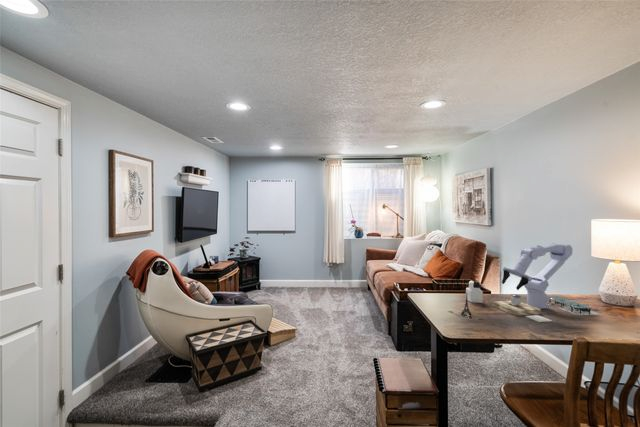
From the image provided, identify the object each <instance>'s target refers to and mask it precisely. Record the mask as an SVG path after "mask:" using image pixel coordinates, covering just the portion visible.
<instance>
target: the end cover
mask: <svg viewBox="0 0 640 427" xmlns="http://www.w3.org/2000/svg"><path fill="white" fill-rule="evenodd" d="M510 301H511V306H514V307H520V302H521V295H519V294H511V295H510Z"/></svg>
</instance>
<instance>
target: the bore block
mask: <svg viewBox="0 0 640 427" xmlns="http://www.w3.org/2000/svg"><path fill="white" fill-rule="evenodd" d="M491 306H492V307H494V308H496V309H498V310H501V311H504V312H506V313H508V314H510V315H513V316H530V315H541V309H538V308H535V307H533V306H530V305H527V303H524V302H521V301H520V307H514V306H511V300H500V301H496V300H495V301H492V302H491Z"/></svg>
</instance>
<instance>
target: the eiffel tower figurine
mask: <svg viewBox="0 0 640 427" xmlns="http://www.w3.org/2000/svg"><path fill="white" fill-rule="evenodd" d="M468 302H469V301H468V300H467V293H466V292H465V304H464V308H463V310H462V311H461V312H460V314H455V313H454V311H453V310H452V311H451V310H449V311H448V312H449V313H451V314H453V315H455V316H457V317H459V318H462V319H464V320H468V317H465V316H467V314H469V315H470V318H471V317H472V318H473V313H472V312H471V311H470V308H469V304H468ZM471 315H472V316H471Z"/></svg>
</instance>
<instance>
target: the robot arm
mask: <svg viewBox="0 0 640 427" xmlns="http://www.w3.org/2000/svg"><path fill="white" fill-rule="evenodd" d="M520 251H521V252H520V255H519V259H518V261H517V262H516V264H515V266H514V267H513V268H509V267H505V266H504V267H503V268H502V271H503V278H502V280H501V283H502V284H503V285H505V283H506V282H507V280H508V278H509V277H510V276H511V275H514V276H516V277H518V278H520V281H519V282H518V284H517V286H516V287H515V288H516V290H517V291H519V290H520V289H521V288H522V287H524V288H525V291H526V292H527V294H526V297H527V298H526V304H527V305H530V306H533V307H535V308H538V309H549V306H548V305H547V303H548V294H547V293H546V291H547V289H548V287H549V282H548V280H549V279H550V278H552V276H553V275H554V274H555V273H556V272H557V271H558V270H559V269H560V268H561V267H562V266H564V264H565V262H566V261H567V260H568V259H569V258H570V257H571V256H572V255H573V247H572V246H571V245H570V244H561V243H553V242H552V243H549V244H547V245H545V246H543V245H536V246H534V247H533V246H531V247H530V248H523V249H521V250H520ZM547 253H549V255H550V257H549V258H550V259H551V261H549V262H548V264H546V265H545V266H544V268H542V269H541V270H540V271H539V272H538V273H537V274H536V275H531V276H530V275H527V274H526V272H527V270H528V269H529V267H530V265H532V262H533V261H535V260H537V259H538V258H539V257H543V256H546V254H547Z"/></svg>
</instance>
